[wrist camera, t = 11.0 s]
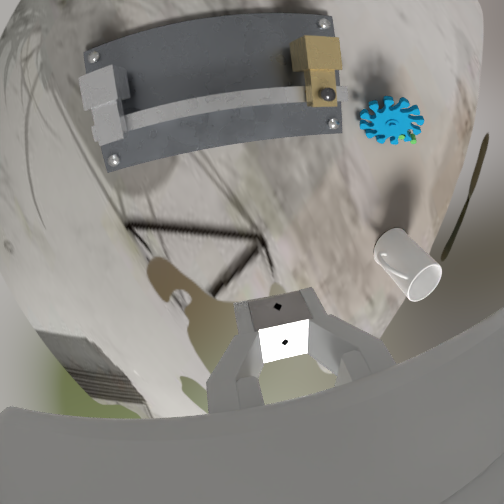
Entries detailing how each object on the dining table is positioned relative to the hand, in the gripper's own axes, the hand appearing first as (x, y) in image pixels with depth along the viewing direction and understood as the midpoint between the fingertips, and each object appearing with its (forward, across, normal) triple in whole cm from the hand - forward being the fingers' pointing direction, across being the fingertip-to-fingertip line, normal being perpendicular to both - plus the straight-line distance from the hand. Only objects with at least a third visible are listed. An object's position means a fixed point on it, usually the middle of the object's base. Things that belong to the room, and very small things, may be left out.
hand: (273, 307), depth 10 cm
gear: (+30, -25, -4) cm, 39 cm away
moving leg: (+28, -12, -10) cm, 32 cm away
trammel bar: (+28, -1, -10) cm, 30 cm away
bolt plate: (+30, -1, -11) cm, 31 cm away
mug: (+31, -28, +20) cm, 46 cm away
